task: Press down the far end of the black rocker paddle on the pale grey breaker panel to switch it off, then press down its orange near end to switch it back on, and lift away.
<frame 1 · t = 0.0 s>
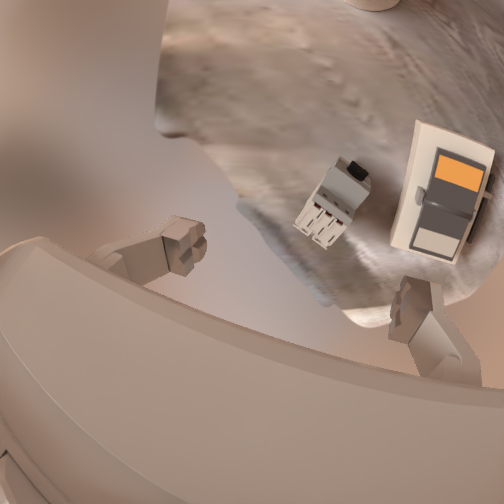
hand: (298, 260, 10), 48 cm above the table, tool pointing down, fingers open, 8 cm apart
circuit breaker: (342, 181, 55), on the table
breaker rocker: (448, 208, 39), point 10 cm above the table, hinge at 0.0°
dark grey piece: (479, 204, 42), on the table
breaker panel: (438, 189, 46), on the table
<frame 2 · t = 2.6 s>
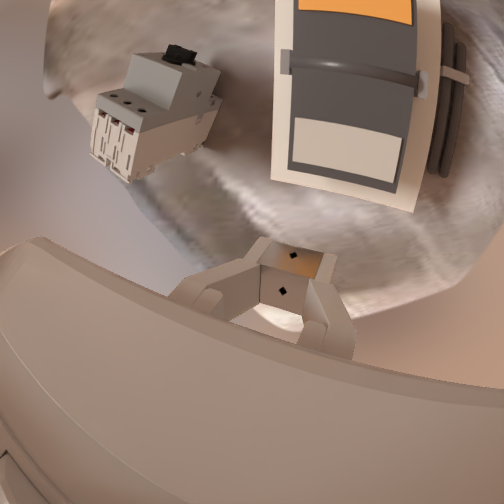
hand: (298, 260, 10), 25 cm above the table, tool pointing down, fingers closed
circuit breaker: (200, 94, 33), on the table
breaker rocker: (353, 68, 17), point 10 cm above the table, hinge at 0.0°
dark grey piece: (449, 99, 21), on the table
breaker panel: (359, 74, 24), on the table
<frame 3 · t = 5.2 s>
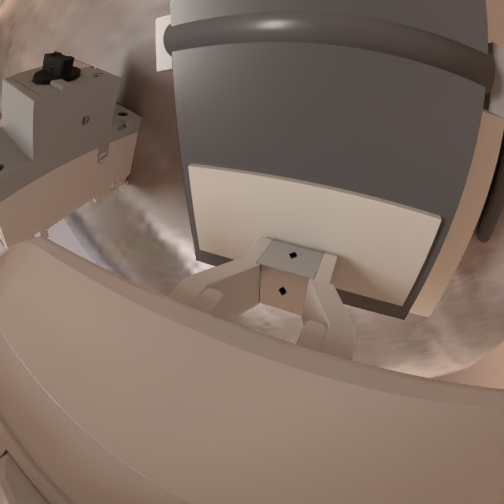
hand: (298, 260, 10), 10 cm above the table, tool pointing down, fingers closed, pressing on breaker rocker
circuit breaker: (117, 111, 22), on the table
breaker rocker: (320, 30, 6), point 10 cm above the table, hinge at 2.2°, touching gripper
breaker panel: (348, 59, 13), on the table
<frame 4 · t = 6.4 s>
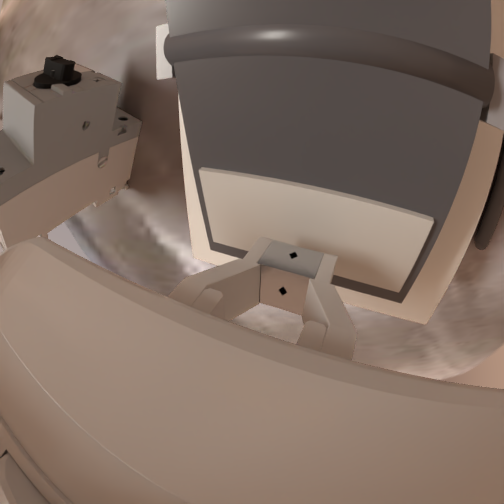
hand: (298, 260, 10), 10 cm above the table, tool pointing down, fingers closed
circuit breaker: (117, 115, 22), on the table
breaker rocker: (320, 41, 6), point 10 cm above the table, hinge at 10.7°
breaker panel: (348, 66, 13), on the table
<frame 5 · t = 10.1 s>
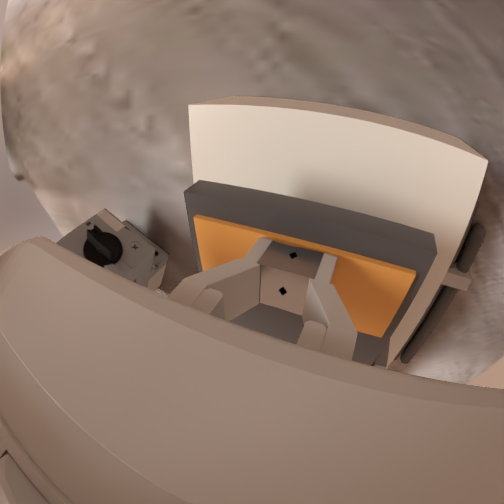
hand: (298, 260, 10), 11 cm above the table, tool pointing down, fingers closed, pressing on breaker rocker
circuit breaker: (146, 241, 33), on the table
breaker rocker: (286, 349, 16), point 10 cm above the table, hinge at 3.9°, touching gripper
dark grey piece: (436, 293, 20), on the table
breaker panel: (322, 262, 23), on the table
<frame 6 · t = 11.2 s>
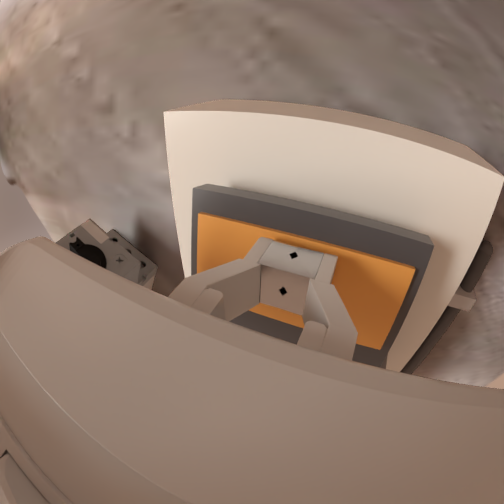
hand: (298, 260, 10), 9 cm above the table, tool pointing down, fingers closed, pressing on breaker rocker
circuit breaker: (134, 251, 31), on the table
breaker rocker: (273, 378, 15), point 10 cm above the table, hinge at -12.3°, touching gripper
dark grey piece: (437, 312, 18), on the table
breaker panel: (315, 278, 22), on the table
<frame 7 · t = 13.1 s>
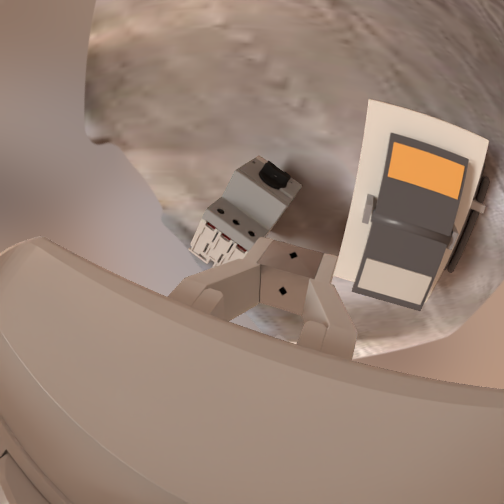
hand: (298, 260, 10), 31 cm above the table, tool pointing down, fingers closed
circuit breaker: (272, 188, 44), on the table
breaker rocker: (412, 227, 28), point 10 cm above the table, hinge at -12.3°
dark grey piece: (466, 219, 32), on the table
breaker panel: (406, 198, 35), on the table
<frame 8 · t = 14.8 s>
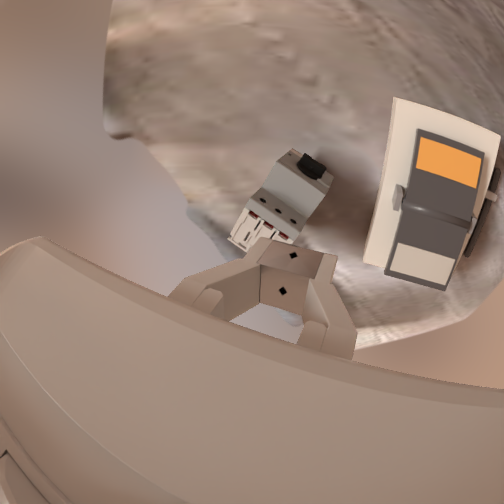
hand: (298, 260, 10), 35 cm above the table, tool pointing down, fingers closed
circuit breaker: (302, 180, 45), on the table
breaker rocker: (437, 214, 29), point 10 cm above the table, hinge at -12.3°
dark grey piece: (480, 207, 33), on the table
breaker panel: (426, 188, 36), on the table
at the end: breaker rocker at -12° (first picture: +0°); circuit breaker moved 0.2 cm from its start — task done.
